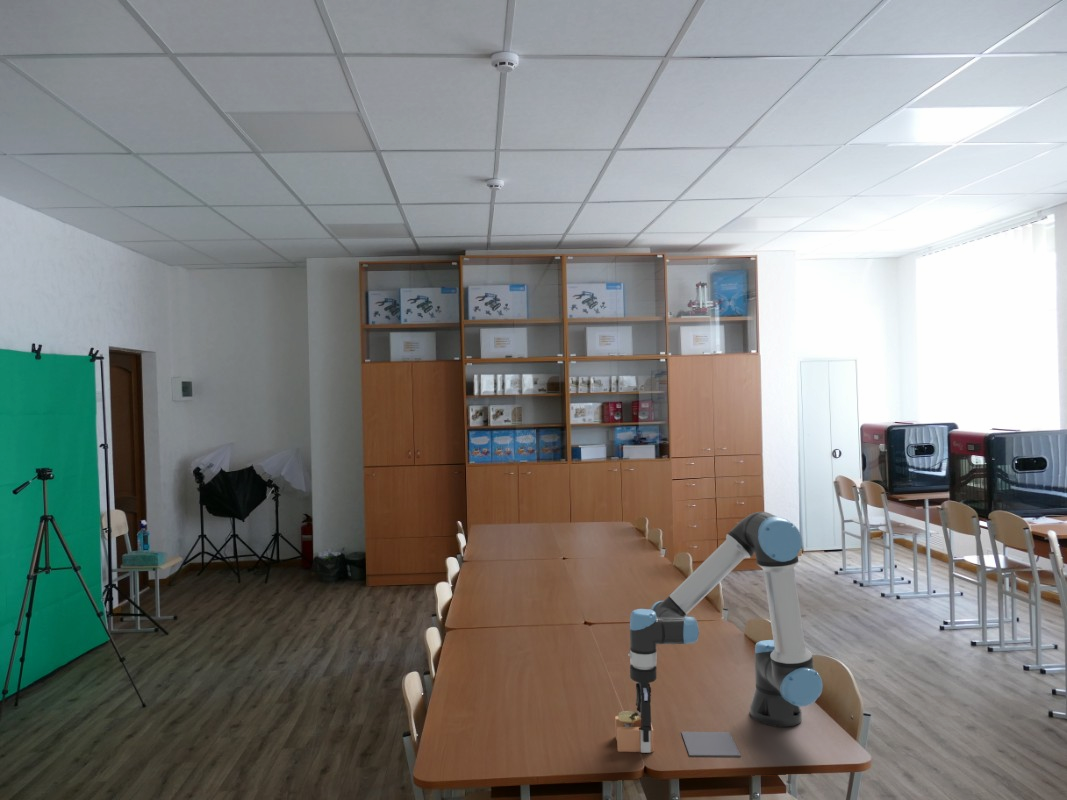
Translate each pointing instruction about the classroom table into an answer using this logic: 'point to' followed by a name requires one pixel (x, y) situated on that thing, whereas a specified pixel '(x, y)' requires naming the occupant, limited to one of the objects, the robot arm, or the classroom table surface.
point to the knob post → (628, 718)
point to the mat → (710, 744)
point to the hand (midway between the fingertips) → (643, 743)
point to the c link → (630, 737)
